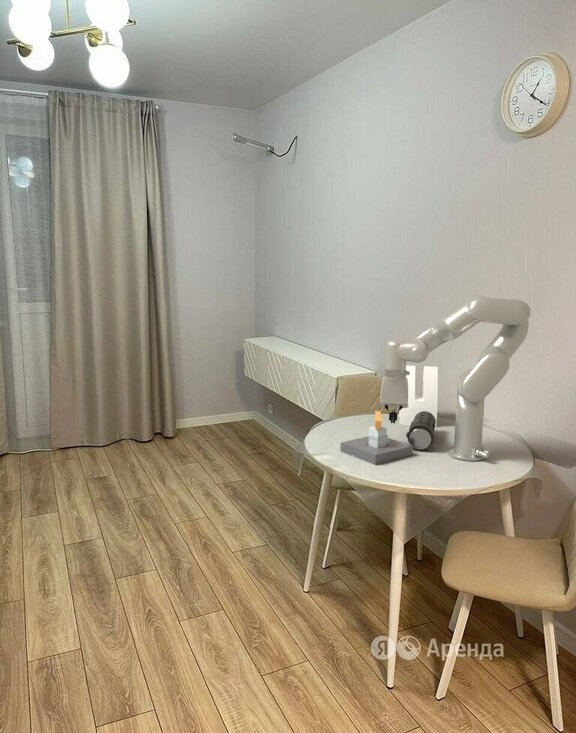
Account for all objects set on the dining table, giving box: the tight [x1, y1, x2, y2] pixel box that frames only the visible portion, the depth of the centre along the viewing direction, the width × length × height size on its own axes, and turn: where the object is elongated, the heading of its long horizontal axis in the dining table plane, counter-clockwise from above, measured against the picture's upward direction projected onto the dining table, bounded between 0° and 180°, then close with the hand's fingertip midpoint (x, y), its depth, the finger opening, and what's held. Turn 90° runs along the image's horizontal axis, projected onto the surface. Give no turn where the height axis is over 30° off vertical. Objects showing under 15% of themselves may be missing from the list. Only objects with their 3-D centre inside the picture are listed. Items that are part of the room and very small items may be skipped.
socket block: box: [339, 436, 414, 466], centre depth 211 cm, size 18×19×4 cm
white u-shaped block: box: [398, 364, 439, 427], centre depth 256 cm, size 19×15×25 cm
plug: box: [367, 426, 389, 449], centre depth 209 cm, size 5×5×10 cm
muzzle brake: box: [405, 411, 437, 451], centre depth 226 cm, size 10×28×10 cm
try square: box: [373, 410, 382, 429], centre depth 213 cm, size 16×2×10 cm, turn 172°
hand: (392, 422), depth 213 cm, fingers closed
